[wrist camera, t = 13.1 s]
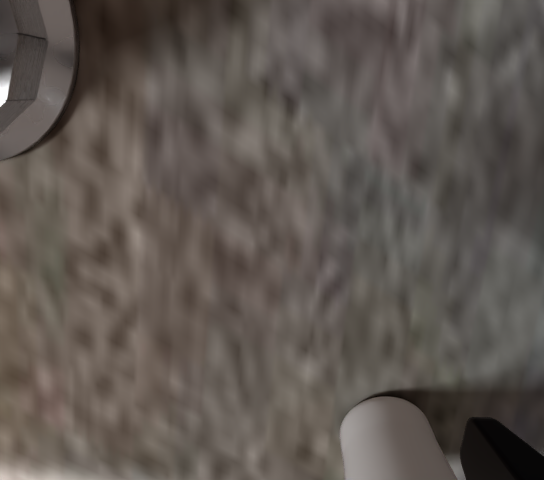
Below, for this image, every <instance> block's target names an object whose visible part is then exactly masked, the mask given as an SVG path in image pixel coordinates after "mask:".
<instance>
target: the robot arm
mask: <svg viewBox="0 0 544 480" xmlns="http://www.w3.org/2000/svg"><path fill="white" fill-rule="evenodd" d="M460 459H461V464H462V468H463V471H464V474H465V477H466V480H544V456H542V455H541V454H540V453H539V452H537V451H536V450H535V449H533V448H532V447H531V446H530V445H528V444H527V443H526V442H524V441H523V440H522V439H520V438H519V437H518V436H517V435H515V434H514V433H513V432H511V431H510V430H509V429H508V428H506V427H505V426H504V425H502V424H501V423H500V422H498V421H497V420H495V419H493V418H488V417H472V418H470V419H469V420H468V421H467V424H466V428H465V432H464V436H463V440H462V444H461V449H460Z"/></svg>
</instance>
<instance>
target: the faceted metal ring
mask: <svg viewBox="0 0 544 480" xmlns="http://www.w3.org/2000/svg"><path fill="white" fill-rule="evenodd" d="M78 65H79V33H78V23H77V18H76V13H75V7H74V3H73V0H0V161H1V160H4V159H7V158H10V157H13V156H16V155H19V154H21V153H23V152H25V151H26V150H28V149H30V148H32V147H33V146H35V145H36V144H37V143H39V142H40V141H41V140H42V139H44V138H45V137H46V136H47V135H48V134H49V132H50V131H51V130H52V129H53V128H54V127H55V126H56V124H57V123H58V121H59V120H60V118H61V117H62V115H63V114H64V112H65V110H66V107H67V105H68V103H69V101H70V99H71V96H72V93H73V89H74V86H75V83H76V77H77V71H78Z"/></svg>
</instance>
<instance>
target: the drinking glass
mask: <svg viewBox="0 0 544 480" xmlns="http://www.w3.org/2000/svg"><path fill="white" fill-rule="evenodd" d="M340 445H341V451H342V458H343V466H344V479H345V480H458V479H457V478H456V476H455V474H454V472H453V470H452V468H451V466H450V465H449V463H448V461H447V459H446V457H445V455H444V453H443V451H442V450H441V448H440V446H439V444H438V442H437V439H436V437H435V435H434V432H433V430H432V428H431V426H430V423H429V421H428V419H427V418H426V416H425V415H424V413H423V412H422V411H421V410H420V409H419V408H418V407H417V406H415V405H414V404H412V403H411V402H409V401H407V400H404V399H401V398H397V397H390V396H382V397H375V398H371V399H368V400H365V401H363V402H361V403H359V404H357V405H356V406H355V407H353V408H352V409H351V410H350V411H349V412H348V413H347V415H346V416H345V418H344V419H343V422H342V424H341V428H340Z"/></svg>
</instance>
